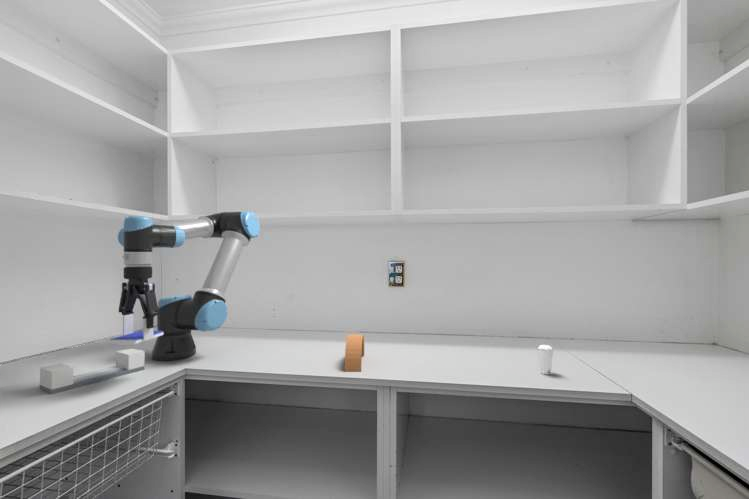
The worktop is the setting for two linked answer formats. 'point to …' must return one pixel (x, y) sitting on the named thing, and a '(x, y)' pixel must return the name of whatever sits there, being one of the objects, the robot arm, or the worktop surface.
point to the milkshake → (545, 358)
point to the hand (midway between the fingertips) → (137, 337)
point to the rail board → (63, 379)
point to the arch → (354, 352)
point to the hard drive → (133, 338)
